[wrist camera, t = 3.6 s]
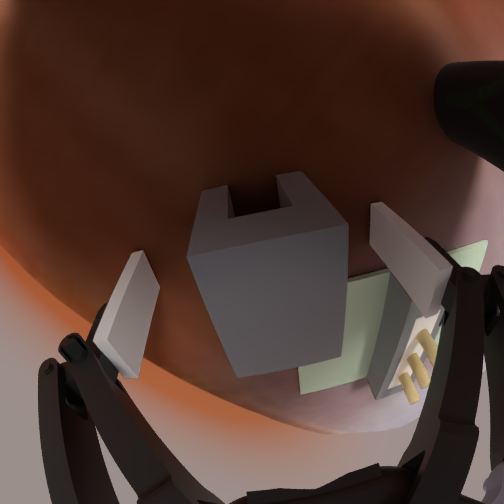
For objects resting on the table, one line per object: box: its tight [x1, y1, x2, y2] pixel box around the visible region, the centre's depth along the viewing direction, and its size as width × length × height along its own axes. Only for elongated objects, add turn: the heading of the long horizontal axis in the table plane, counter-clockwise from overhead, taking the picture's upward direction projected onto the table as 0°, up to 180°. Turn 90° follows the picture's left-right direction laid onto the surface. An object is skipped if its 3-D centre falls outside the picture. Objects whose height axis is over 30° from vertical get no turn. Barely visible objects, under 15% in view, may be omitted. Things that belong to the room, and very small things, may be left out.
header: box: [298, 240, 488, 405], centre depth 18 cm, size 14×18×6 cm
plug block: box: [186, 171, 349, 378], centre depth 12 cm, size 7×5×6 cm
